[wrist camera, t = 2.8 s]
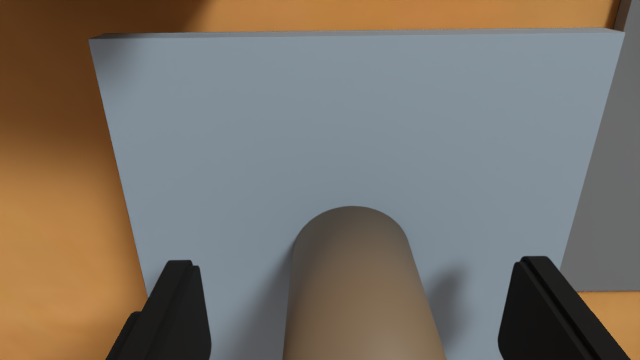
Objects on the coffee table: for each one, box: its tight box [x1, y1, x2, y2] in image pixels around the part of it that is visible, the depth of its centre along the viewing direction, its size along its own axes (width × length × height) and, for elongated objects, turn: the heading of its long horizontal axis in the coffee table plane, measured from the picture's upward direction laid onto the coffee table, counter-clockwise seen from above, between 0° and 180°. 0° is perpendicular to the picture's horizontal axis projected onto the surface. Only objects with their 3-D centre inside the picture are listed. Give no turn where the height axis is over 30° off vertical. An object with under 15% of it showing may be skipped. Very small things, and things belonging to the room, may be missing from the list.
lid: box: [88, 27, 625, 360], centre depth 11 cm, size 13×13×7 cm
